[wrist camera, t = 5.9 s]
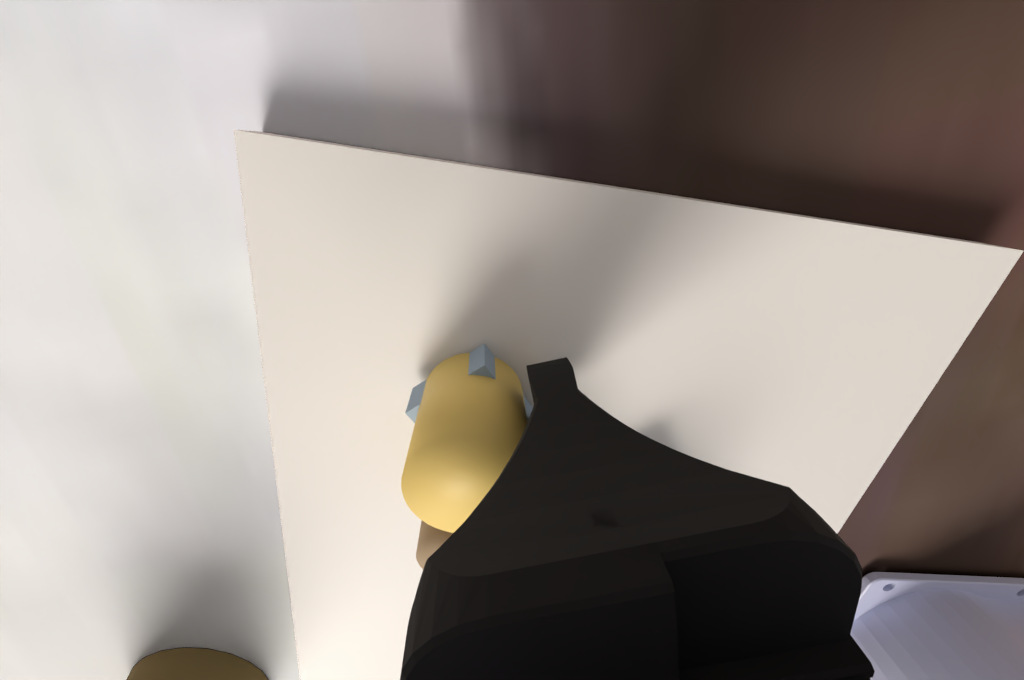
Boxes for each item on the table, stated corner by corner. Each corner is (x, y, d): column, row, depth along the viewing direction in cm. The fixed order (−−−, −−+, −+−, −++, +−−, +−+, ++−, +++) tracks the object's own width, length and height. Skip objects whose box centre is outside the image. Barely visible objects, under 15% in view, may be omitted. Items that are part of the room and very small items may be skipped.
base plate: (975, 241, 12) (1023, 250, 11) (717, 668, 21) (730, 696, 20) (261, 131, 10) (233, 130, 9) (312, 663, 19) (302, 694, 18)
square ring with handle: (716, 563, 15) (775, 667, 12) (568, 629, 17) (587, 739, 13) (544, 297, 11) (570, 359, 7) (352, 417, 12) (305, 513, 9)
